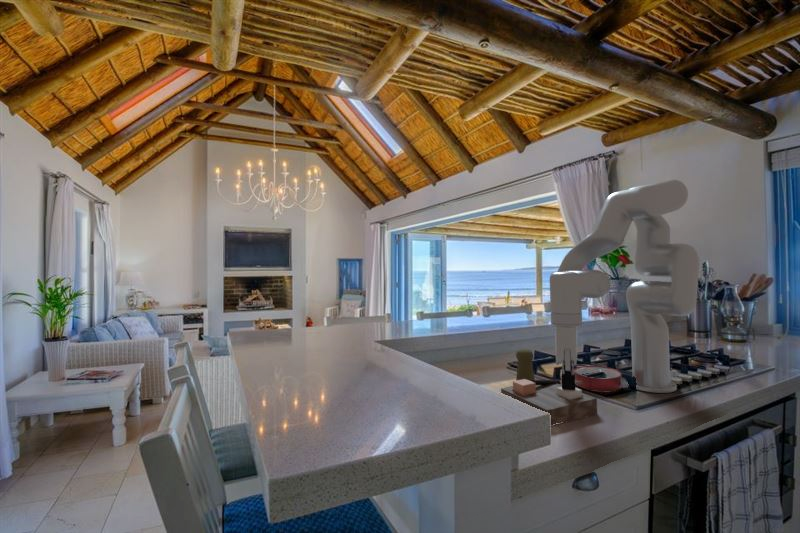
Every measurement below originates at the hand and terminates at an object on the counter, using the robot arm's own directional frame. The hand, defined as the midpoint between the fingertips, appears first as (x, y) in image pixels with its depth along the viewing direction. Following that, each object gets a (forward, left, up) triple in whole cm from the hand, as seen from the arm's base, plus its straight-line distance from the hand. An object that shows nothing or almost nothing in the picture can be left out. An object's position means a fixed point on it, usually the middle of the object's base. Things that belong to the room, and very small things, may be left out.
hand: (568, 388), depth 103 cm
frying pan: (-12, -9, -6) cm, 16 cm away
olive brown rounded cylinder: (-4, -22, -6) cm, 23 cm away
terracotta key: (+8, -8, -2) cm, 11 cm away
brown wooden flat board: (+4, -4, -6) cm, 8 cm away
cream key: (0, 0, -3) cm, 3 cm away
